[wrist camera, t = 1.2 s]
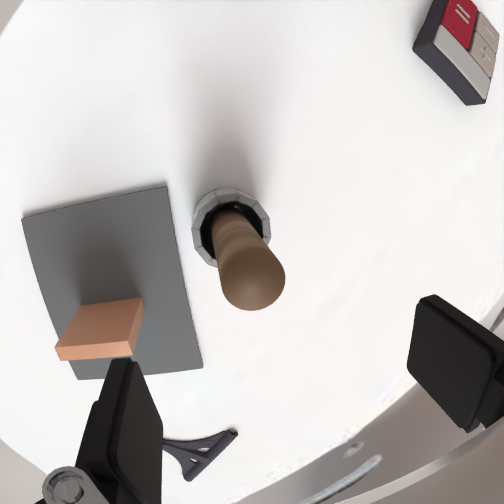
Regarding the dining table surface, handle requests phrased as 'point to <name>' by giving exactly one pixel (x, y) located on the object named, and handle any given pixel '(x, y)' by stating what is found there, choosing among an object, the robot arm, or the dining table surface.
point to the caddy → (216, 200)
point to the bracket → (188, 450)
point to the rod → (244, 261)
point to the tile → (102, 330)
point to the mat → (117, 274)
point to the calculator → (459, 48)
